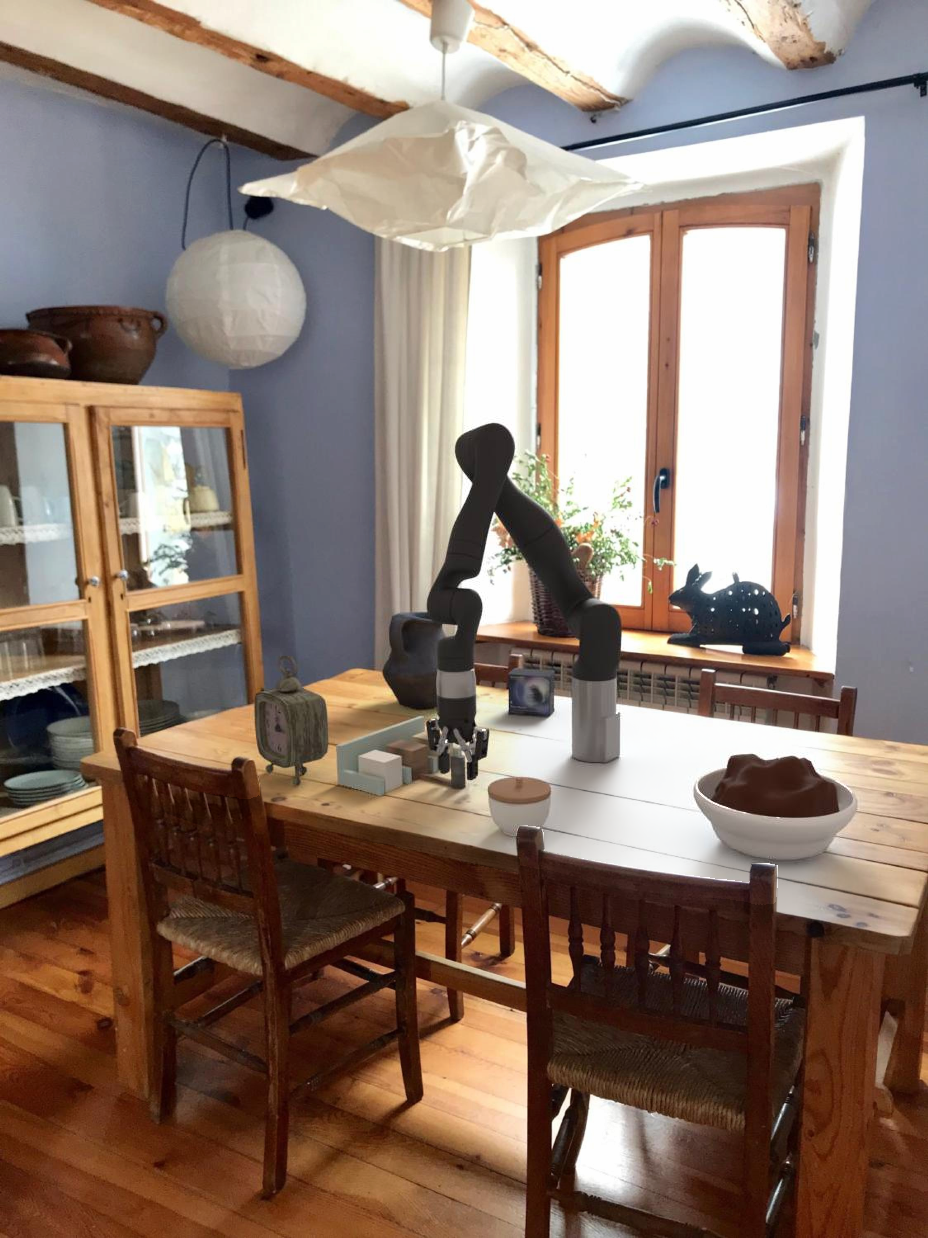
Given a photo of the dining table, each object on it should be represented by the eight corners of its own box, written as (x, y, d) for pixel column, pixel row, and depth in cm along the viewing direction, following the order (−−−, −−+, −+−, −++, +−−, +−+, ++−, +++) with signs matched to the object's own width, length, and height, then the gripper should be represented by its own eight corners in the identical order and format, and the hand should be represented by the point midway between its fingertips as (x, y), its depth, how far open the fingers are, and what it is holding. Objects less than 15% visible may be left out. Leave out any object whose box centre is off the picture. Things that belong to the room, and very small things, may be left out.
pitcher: (478, 700, 249) (476, 606, 245) (431, 721, 231) (428, 619, 227) (413, 691, 260) (410, 600, 256) (363, 710, 242) (360, 613, 238)
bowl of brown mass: (790, 896, 138) (794, 796, 135) (660, 841, 158) (661, 753, 155) (886, 851, 152) (892, 760, 150) (756, 806, 172) (758, 725, 170)
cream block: (402, 785, 187) (401, 756, 186) (385, 792, 183) (384, 762, 182) (376, 778, 191) (375, 750, 190) (359, 785, 188) (358, 756, 186)
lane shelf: (461, 761, 201) (461, 724, 199) (379, 796, 181) (378, 755, 180) (421, 751, 208) (420, 716, 206) (337, 784, 188) (336, 745, 187)
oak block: (453, 764, 199) (452, 736, 198) (438, 770, 196) (438, 742, 195) (427, 758, 204) (426, 730, 203) (412, 764, 200) (412, 736, 199)
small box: (507, 715, 235) (506, 673, 233) (513, 708, 241) (513, 667, 240) (549, 717, 232) (549, 675, 230) (555, 710, 238) (555, 669, 237)
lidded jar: (513, 814, 171) (512, 763, 169) (563, 828, 164) (563, 775, 163) (475, 833, 163) (474, 780, 161) (526, 848, 156) (526, 793, 155)
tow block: (471, 784, 187) (471, 754, 186) (456, 791, 183) (455, 761, 182) (402, 767, 197) (401, 739, 196) (386, 774, 194) (385, 745, 193)
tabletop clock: (257, 772, 196) (250, 653, 192) (296, 762, 202) (290, 646, 198) (293, 790, 185) (286, 664, 181) (333, 779, 191) (327, 657, 187)
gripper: (498, 692, 181) (499, 778, 184) (439, 682, 190) (441, 764, 192) (474, 701, 175) (476, 789, 178) (414, 690, 184) (417, 774, 187)
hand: (458, 775), depth 185 cm, fingers open, 6 cm apart
